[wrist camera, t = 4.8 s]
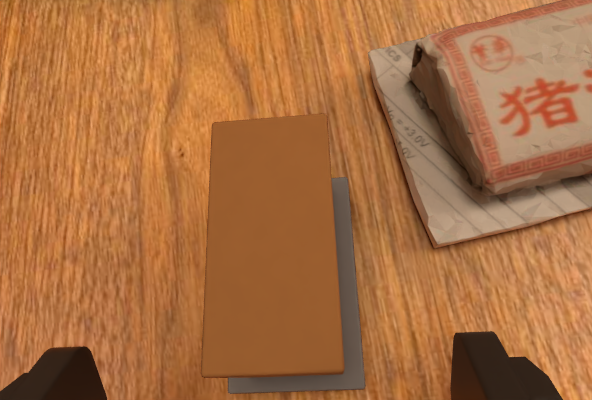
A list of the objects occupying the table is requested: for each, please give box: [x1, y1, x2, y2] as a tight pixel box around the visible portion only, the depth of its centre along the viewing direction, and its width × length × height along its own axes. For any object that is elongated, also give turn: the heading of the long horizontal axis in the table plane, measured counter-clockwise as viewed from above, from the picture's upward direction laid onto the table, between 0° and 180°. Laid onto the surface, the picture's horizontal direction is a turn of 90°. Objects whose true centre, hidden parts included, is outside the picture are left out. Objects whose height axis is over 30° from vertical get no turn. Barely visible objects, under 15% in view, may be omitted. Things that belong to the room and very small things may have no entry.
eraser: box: [201, 113, 365, 394], centre depth 15 cm, size 8×5×8 cm, turn 2°
